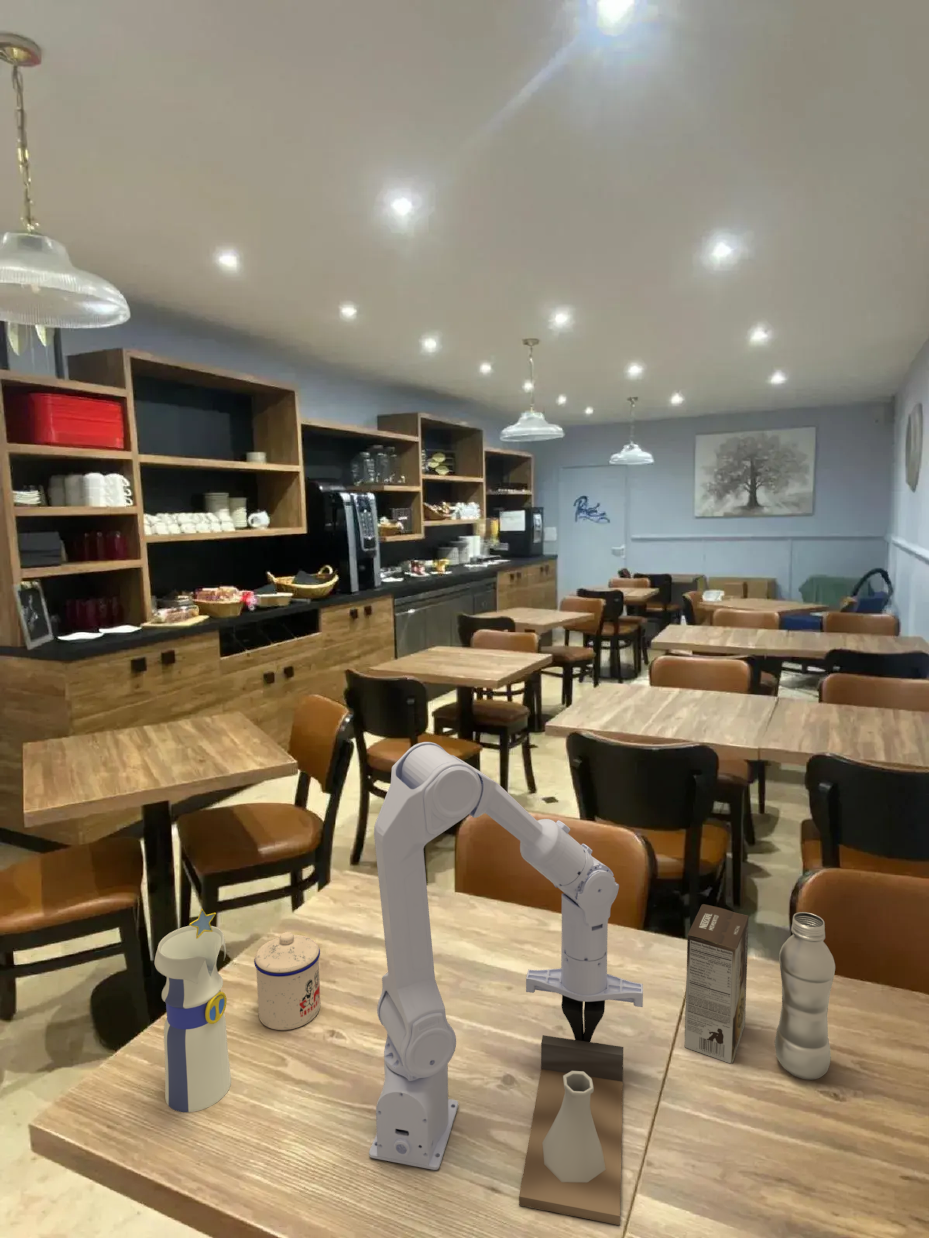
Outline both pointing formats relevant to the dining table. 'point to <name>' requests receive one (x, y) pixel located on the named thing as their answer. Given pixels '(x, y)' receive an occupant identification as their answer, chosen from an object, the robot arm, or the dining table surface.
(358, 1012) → the dining table surface
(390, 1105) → the robot arm
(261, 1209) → the dining table surface
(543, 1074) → the sliding board
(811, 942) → the plastic bottle
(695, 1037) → the coffee box
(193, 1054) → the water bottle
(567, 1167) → the flask
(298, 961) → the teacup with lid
